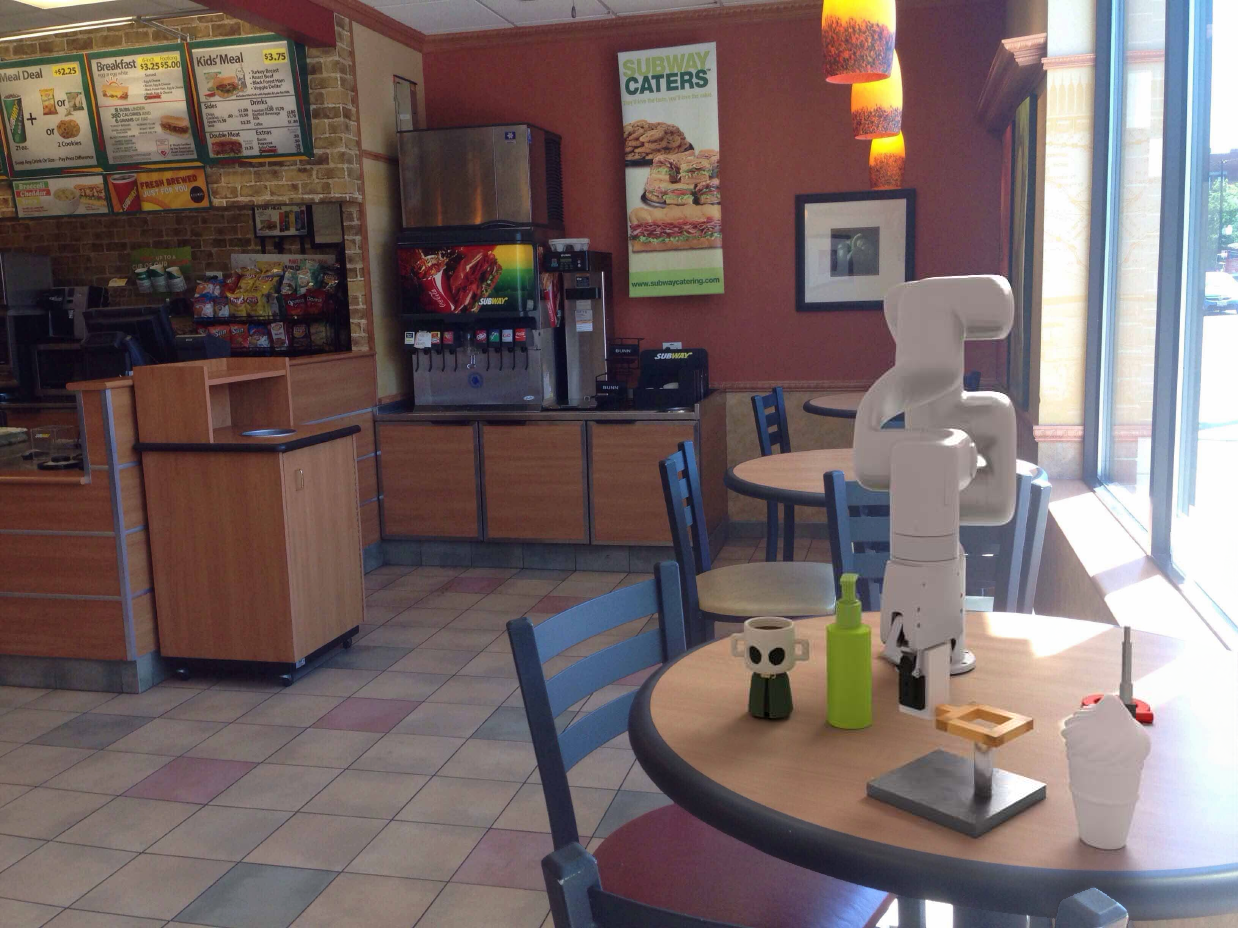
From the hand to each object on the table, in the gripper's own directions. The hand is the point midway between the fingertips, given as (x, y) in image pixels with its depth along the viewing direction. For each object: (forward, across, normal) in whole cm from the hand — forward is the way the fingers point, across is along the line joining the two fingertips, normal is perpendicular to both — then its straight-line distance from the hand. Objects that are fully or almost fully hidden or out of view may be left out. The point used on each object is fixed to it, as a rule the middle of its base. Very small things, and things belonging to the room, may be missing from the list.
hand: (924, 700), depth 122 cm
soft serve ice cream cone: (+10, -2, +20) cm, 23 cm away
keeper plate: (+10, 0, +4) cm, 11 cm away
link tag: (+1, 0, +5) cm, 5 cm away
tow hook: (+11, -38, +4) cm, 40 cm away
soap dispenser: (+10, -10, -19) cm, 24 cm away
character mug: (+10, -4, -28) cm, 30 cm away
